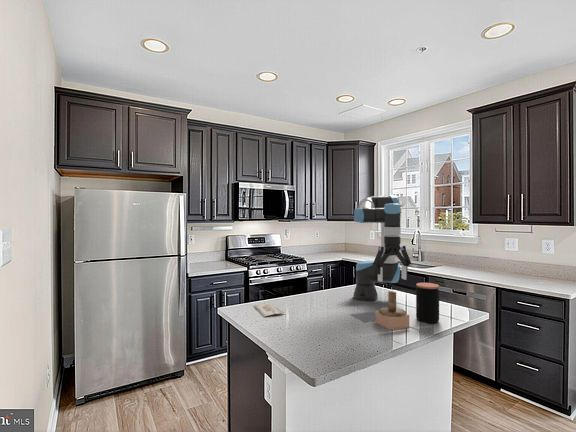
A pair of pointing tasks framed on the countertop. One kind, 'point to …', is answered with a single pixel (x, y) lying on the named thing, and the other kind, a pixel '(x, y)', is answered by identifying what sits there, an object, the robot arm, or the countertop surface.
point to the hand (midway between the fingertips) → (392, 280)
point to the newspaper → (268, 309)
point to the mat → (365, 316)
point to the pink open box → (392, 321)
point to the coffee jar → (427, 302)
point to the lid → (392, 307)
